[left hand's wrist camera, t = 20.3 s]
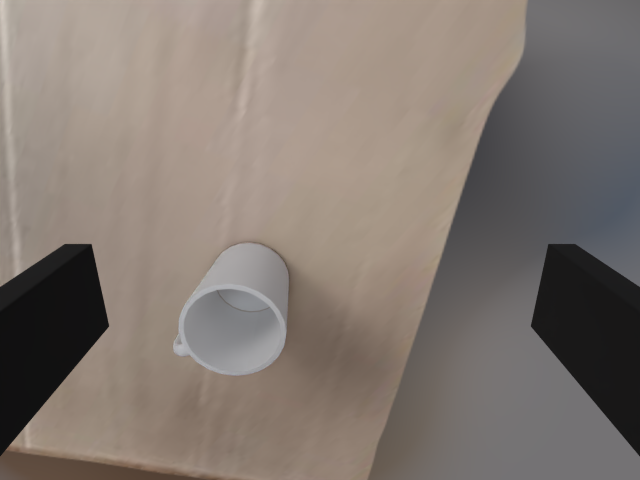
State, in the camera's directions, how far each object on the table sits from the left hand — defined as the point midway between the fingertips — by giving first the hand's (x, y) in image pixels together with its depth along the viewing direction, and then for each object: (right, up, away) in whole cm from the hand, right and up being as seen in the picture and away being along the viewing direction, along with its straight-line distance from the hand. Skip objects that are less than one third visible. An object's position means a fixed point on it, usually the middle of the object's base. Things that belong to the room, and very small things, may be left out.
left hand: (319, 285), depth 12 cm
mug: (-8, -3, +33) cm, 34 cm away
